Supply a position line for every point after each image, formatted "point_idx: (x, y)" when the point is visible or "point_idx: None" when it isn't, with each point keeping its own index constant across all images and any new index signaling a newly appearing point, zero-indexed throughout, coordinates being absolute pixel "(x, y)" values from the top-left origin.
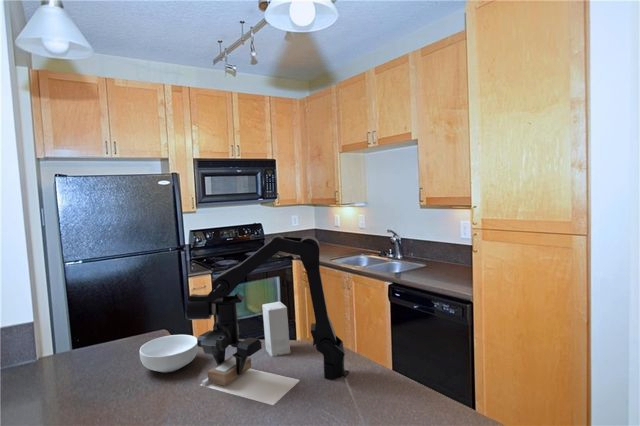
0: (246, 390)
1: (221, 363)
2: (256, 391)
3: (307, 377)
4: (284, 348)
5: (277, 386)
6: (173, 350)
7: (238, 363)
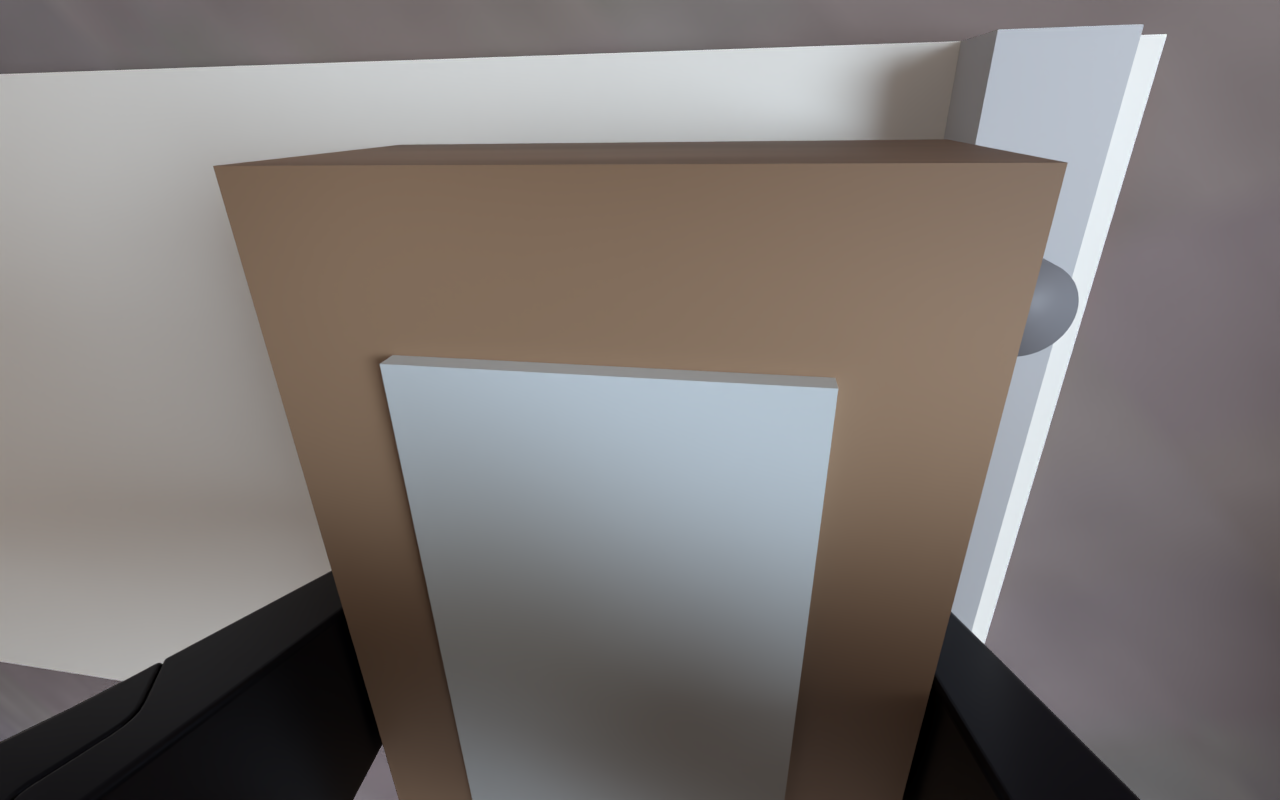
0: (141, 269)
1: (882, 719)
2: (18, 302)
3: (28, 713)
4: None
5: None
6: None
7: (112, 707)
